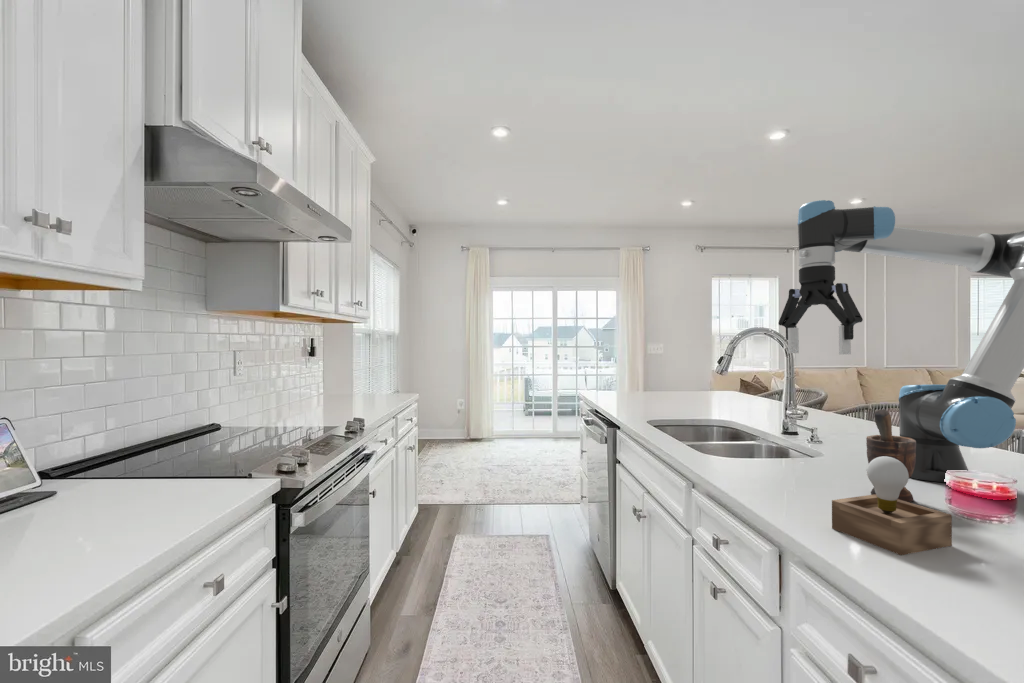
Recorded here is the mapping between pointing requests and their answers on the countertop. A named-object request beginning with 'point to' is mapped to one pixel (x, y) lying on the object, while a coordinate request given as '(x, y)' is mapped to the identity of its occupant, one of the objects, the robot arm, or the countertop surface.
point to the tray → (892, 524)
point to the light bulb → (887, 481)
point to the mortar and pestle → (891, 448)
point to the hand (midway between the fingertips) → (817, 353)
